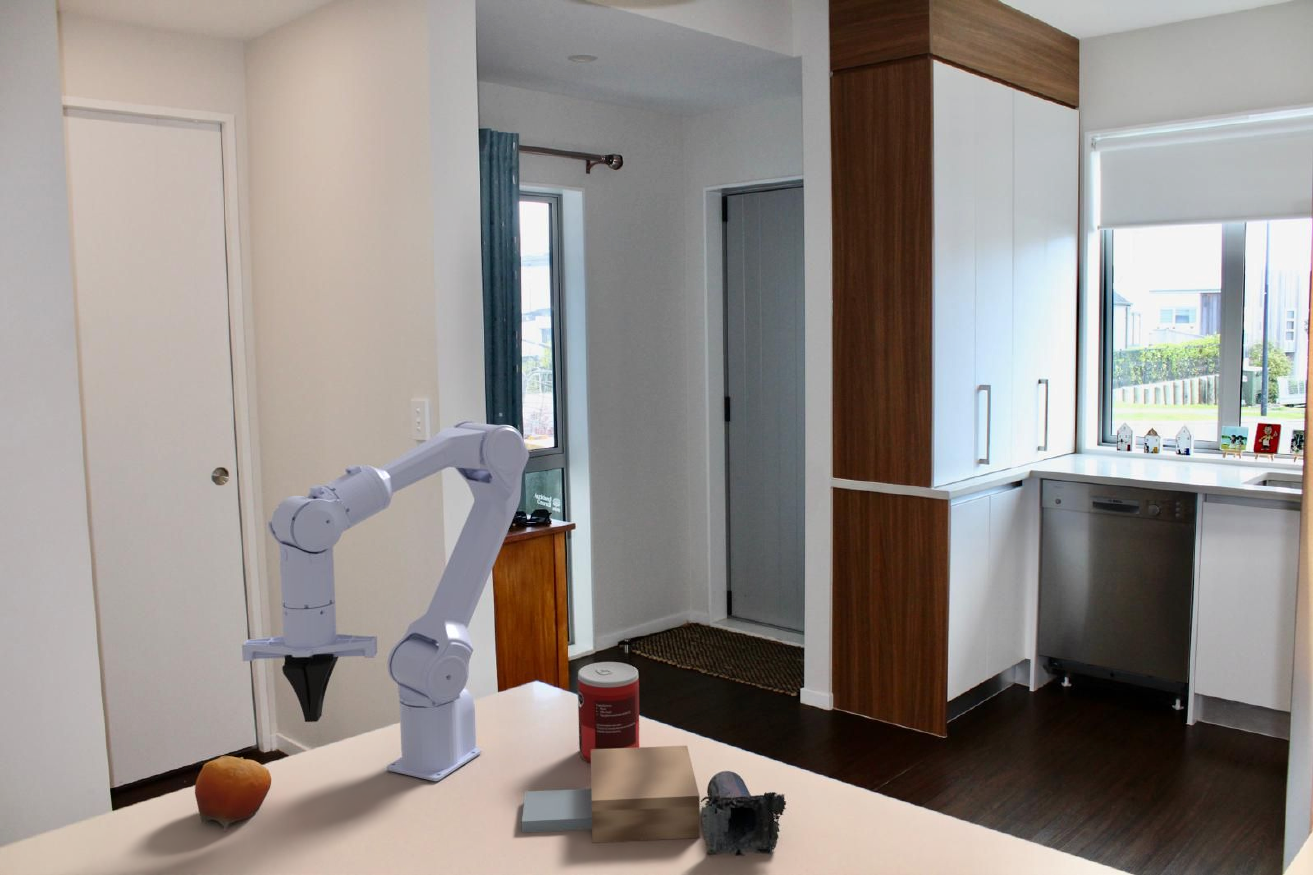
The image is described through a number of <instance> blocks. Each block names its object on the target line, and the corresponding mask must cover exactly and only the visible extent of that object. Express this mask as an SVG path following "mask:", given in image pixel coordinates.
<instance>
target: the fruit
mask: <svg viewBox="0 0 1313 875" xmlns="http://www.w3.org/2000/svg"><path fill="white" fill-rule="evenodd" d="M271 785H272V776H271V773H270V771H269V770H268V769H267V768H266V766H264V765H263V764H262V763H260V762H257V761H256V760H253V759H244V757H243V756H241V757H235V756H231V755H230V756H229V755H221V756H220V757H217V758H216V759H213V760H211V761H208V762H205V763H204V764H203V765H202V769H201V770H200V772H199V774H198V775H197V778H196V781H195V787H194V794H195V795H194V796H195V800H196V805H197V809H198V814H199V816H200V820H201V823H203V822H206V821H210V820H215V821H217V822H219V823H220V825H222V826H223V833H226V832H227V828H228V827H229V825H230V824H232V823H234V822H238V821H240V820H246V819H248V818H250V817H252V816H253V815H255V814H256V813H257V812H258V811H259V810H260V808H261V807H262V804H263V803H264V801H265V800H266V797H267V795H268V793H269V791H270V789H271Z"/></svg>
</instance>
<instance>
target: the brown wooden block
mask: <svg viewBox="0 0 1313 875" xmlns="http://www.w3.org/2000/svg"><path fill="white" fill-rule="evenodd" d="M695 776H696V775H695V772H694V768H693V765H692V759H691V755H690V753H689V748H688V745H670V746H668V745H667V746H646V747H645V746H643V747H640V746H639V748H614V749H591V763H590V782H591V785H590V786H591V788H590V789H591V793H592V829H591V833H592V834H591V836H592V837H591V838H592V841H591V842H592V843H593V844H594V843H614V842H615V843H616V842H635V841H636V842H638V841H655V840H656V841H657V840H658V841H659V840H676V839H677V840H678V839H698V838H700V837H701V827H700V826H701V825H700V824H701V823H700V820H701V819H700V818H701V816H700V814H701V812H700V811H701V808H700V806H701V805H700V804H701V803H700V802H701V800H700V792H699V788H698V784H697V780H696V777H695Z"/></svg>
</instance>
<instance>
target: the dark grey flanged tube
mask: <svg viewBox="0 0 1313 875" xmlns="http://www.w3.org/2000/svg"><path fill="white" fill-rule="evenodd" d="M706 791H707V796H704V797H703V798H702V799H701V800H700V802H701V803H702V802H704V801H705V802H704V806H701V808H700V811H701V814H702V818H701V820H702V823H703V826H702V830H703V831H702V832H703V840H706V843H705V844H706V845H707V851H706V853H707V854H711V853H712V854H714V855H715V853H716V854H717V853H718V854H722V853H728V854H730V853H734V854H735V857H737V856H743V857H746V855H745V854H744V853H746V852H753V851H755V853H756V854H758V853H760V854H762V852H763V853H764V852H766V853H768V854H770V855H772V853H773V850H775V849H776V847H777V845H778V840H779V833H780V832H781V831H780V826H781V825H780V823H779V820H780V817H781V816H783V815H784V811H786V809H787V808H786V805H787V801H785V799H786V798H785V794H784V793H781V794H778V792H775V791H772V792H771V791H770V792H769V791H768V792H764V794H759V795H758V794H756V795H751V793H750V792H749V791H750V790H749V789H748V788H747V785H746V783H745V781H744V780H743V778H742V777H741V776H740V775H739V774H738V773H736V772H734V771H730V770H724V771H720V772H718V773H715V774H714V775H713V776H712V777H711V778H710V780H709V782H708V784H707V789H706ZM732 812H733V814H732ZM732 815H733V816H732ZM704 816H705V817H704Z"/></svg>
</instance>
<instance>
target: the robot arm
mask: <svg viewBox="0 0 1313 875" xmlns="http://www.w3.org/2000/svg"><path fill="white" fill-rule="evenodd" d="M529 458H530V453H529V450H528V448H527V445H526V443H525V440H524V437H523V435H522V434H521V432H520V431H519V430H518V429H517V428H516V427H514V426H512V425H508V424H499V425H497V424H489V423H480V422H474V421H472V420H471V421H470V420H462V421H459V422H457V423H456V424H454V425H453V426H449V427H445V428H441V430H440V431H439V432H437V434H436V435H434V436H432V437H431V438H429V439H427V440H425V441H423V442H422V443H420V444H418V445H417V446H415V447H413V448H412V449H410V450H409V451H407V452H405V453H404V454H402V455H400V456H398V457H397V458H395V459H393V460H392V461H390V462H387V463H386V464H384V465H383V466H381V467H379V468H376V467H375V466H371V465H370V464H369V465H368V464H364V465H358V464H351V465H350V466H348V467H346V468H345V472H346V473H345V474H343V475H341V476H340V477H337V478H336V479H334V480H332V481H329V482H327V483H326V484H324V485H319V484H316V485H314V486H311V487H310V488H309V491H310V492H309V493H308V495H307V496H303V495H291V496H289V497H287V498H286V499H283V500H282V501H281V502H279V504H278V505H277V506H278V507H277V508H275V510H274V511H273V514H272V518H271V521H269V522H268V523H267V524H268V530H269V533H270V535H271V536H272V538H273V539H274V540H275V541H276V542H277V543H278V545H279V570H280V592H281V593H280V594H281V613H282V614H281V616H282V636H275V637H266V638H256V639H253V638H251V639H247V640H246V641H244V642H243V643H242V644H241V651H242V654H241V656H242V661H243V662H252V661H254V660H260V659H261V660H262V659H263V660H265V659H266V660H267V659H284V662H283V663H284V664H283V666H282V669H281V670H282V673H283V676H285V678H286V679H287V681H288V682H289V684H290V686H291V687H292V689H293V690H294V693H295V695H296V697H297V699H298V702H299V704H300V707H301V711H302V713H303V718H304V722H305V723H315V722H316V723H317V722H318V721H319V720H320V719H321V717H323V716H322V715H323V714H322V713H323V706H324V705H323V704H324V700H325V696H326V695H325V694H326V692H327V688H328V684H329V682H330V679H331V676H332V673H333V671H334V669H335V666H336V664H337V662H338V660H339V657H341V658H342V657H343V658H345V657H364V659H369V658H371V659H373V658H375V657H376V655H377V654H378V637H377V636H370V635H369V636H368V635H367V636H365V635H355V634H354V635H352V634H342V633H337V617H336V616H337V615H336V614H337V612H336V609H337V608H336V593H335V592H336V588H335V585H336V584H335V569H334V568H335V564H334V562H335V561H334V547H335V545H336V544H337V543H338V541H339V540H340V538H341V536H342V535H343V532H345V531H347V530H349V529H351V528H353V527H355V526H356V525H358V524H360V523H362V522H363V521H366V520H367V519H369V518H371V517H373V516H374V515H376V514H379V513H380V512H381V511H383V510H385V509H387V508H389V506H390V504H391V501H392V498H393V494H395V493H396V492H399V491H401V490H402V489H405V488H407V487H408V486H411V485H413V484H415V483H417V482H419V481H422V480H424V479H426V478H427V477H430V476H432V475H435V474H437V473H439V472H440V471H443V470H445V469H447V468H454V469H455V470H456V471H457V473H458V474H459V475H460V476H461V478H462V479H463V480H464V481H465V483H466V484H467V485H468V487H469V489H470V492H471V494H472V497H473V499H474V500H473V501H474V502H473V504H472V505H471V509H470V511H469V513H468V516H467V517H466V520H465V522H464V525H463V526H462V529H461V531H460V534H459V535H458V538H457V541H456V543H455V545H454V548H453V550H452V552H451V555H450V557H449V559H448V562H447V564H446V566H445V569H444V571H443V574H442V576H441V577H440V580H439V582H438V585H437V588H436V590H435V592H434V593H433V596H432V598H431V601H430V602H429V605H428V609H427V610H426V612H425V613H424V614H423V615H422V616H420V617H418V618H417V619H415V620H414V621H412V622H411V623H410V624H409V625H408V627H407V629H406V632H405V633H404V635H403V636H402V638H401V639H400V640H399V641H398V642H396V644H394V646H393V647H392V649H391V651H390V652H389V655H388V659H387V666H386V667H387V668H386V669H387V672H388V675H389V677H390V679H392V681H393V682H394V683H396V684H397V693H398V699H399V703H398V704H399V719H400V721H399V725H400V746H401V748H400V749H401V757H399V758H398V759H396V760H394V761H393V762H391V763H390V764H388V765H387V766H386V770H387V771H390V772H395V773H398V774H402V775H406V776H407V775H408V776H410V777H411V776H412V777H415V778H420V779H425V780H429V781H432V782H438V781H440V780H442V779H443V778H445V777H446V776H448V775H449V774H451V773H452V772H455V771H456V770H457V769H458V768H460V767H461V766H463V765H465V764H467V763H468V762H469V761H472V760H473V759H474V758H476V757H477V756H478V755H480V754H482V752H483V749H482V748H480V747H477V738H476V737H477V735H476V733H477V732H476V730H477V728H476V706H475V705H476V704H475V701H474V699H473V697H472V694H471V692H470V691H469V690H468V689H467V688H466V685H467V682H468V679H469V673H470V672H469V671H470V670H469V669H470V668H469V666H470V659H471V656H472V654H473V652H474V645H473V643H472V640H471V636H470V635H469V633H468V627H469V625H470V623H471V620H472V618H473V615H474V612H475V611H476V608H477V606H478V604H479V601H480V599H481V596H482V594H483V591H484V589H485V586H486V584H487V582H488V580H489V577H490V574H491V573H492V570H493V568H494V565H495V563H496V561H497V558H498V555H499V554H500V551H501V548H502V546H503V543H504V541H505V538H506V536H507V534H508V531H509V530H510V529H509V528H510V526H511V525H512V522H513V519H514V518H515V515H516V512H517V510H518V507H519V505H520V502H521V497H522V496H521V494H522V493H521V492H522V478H523V477H522V476H523V472H524V470H525V468H526V465H527V462H528V461H529Z"/></svg>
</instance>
